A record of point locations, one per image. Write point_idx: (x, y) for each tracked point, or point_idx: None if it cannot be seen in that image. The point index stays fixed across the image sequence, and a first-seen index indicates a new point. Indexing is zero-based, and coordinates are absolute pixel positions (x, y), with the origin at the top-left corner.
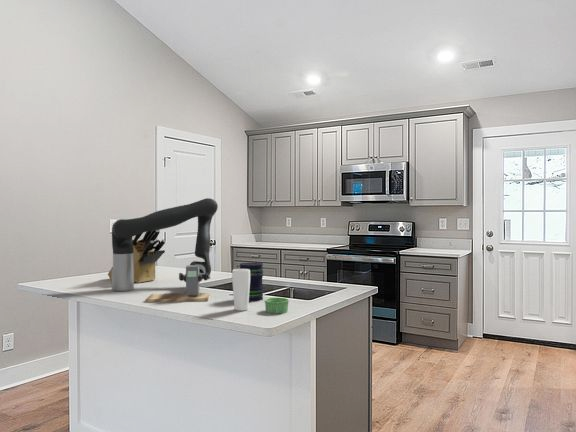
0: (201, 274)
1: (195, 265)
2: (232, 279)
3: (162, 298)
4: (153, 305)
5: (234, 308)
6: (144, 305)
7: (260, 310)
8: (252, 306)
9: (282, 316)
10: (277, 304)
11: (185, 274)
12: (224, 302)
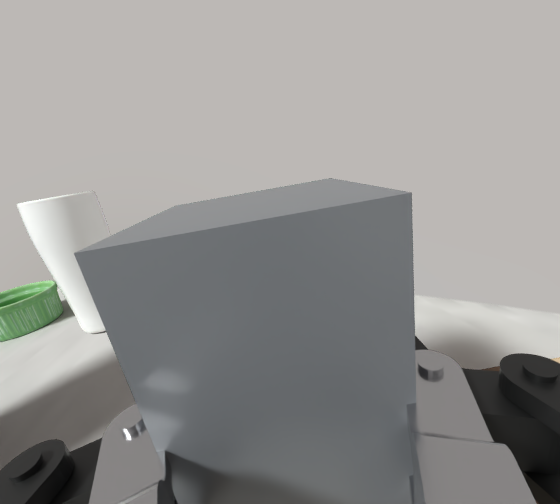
0: (124, 416)
1: (191, 222)
2: (105, 222)
3: (494, 368)
4: (456, 321)
5: None
6: (501, 315)
7: (61, 324)
8: (39, 360)
9: (60, 297)
10: (41, 287)
11: (437, 367)
12: (101, 416)
